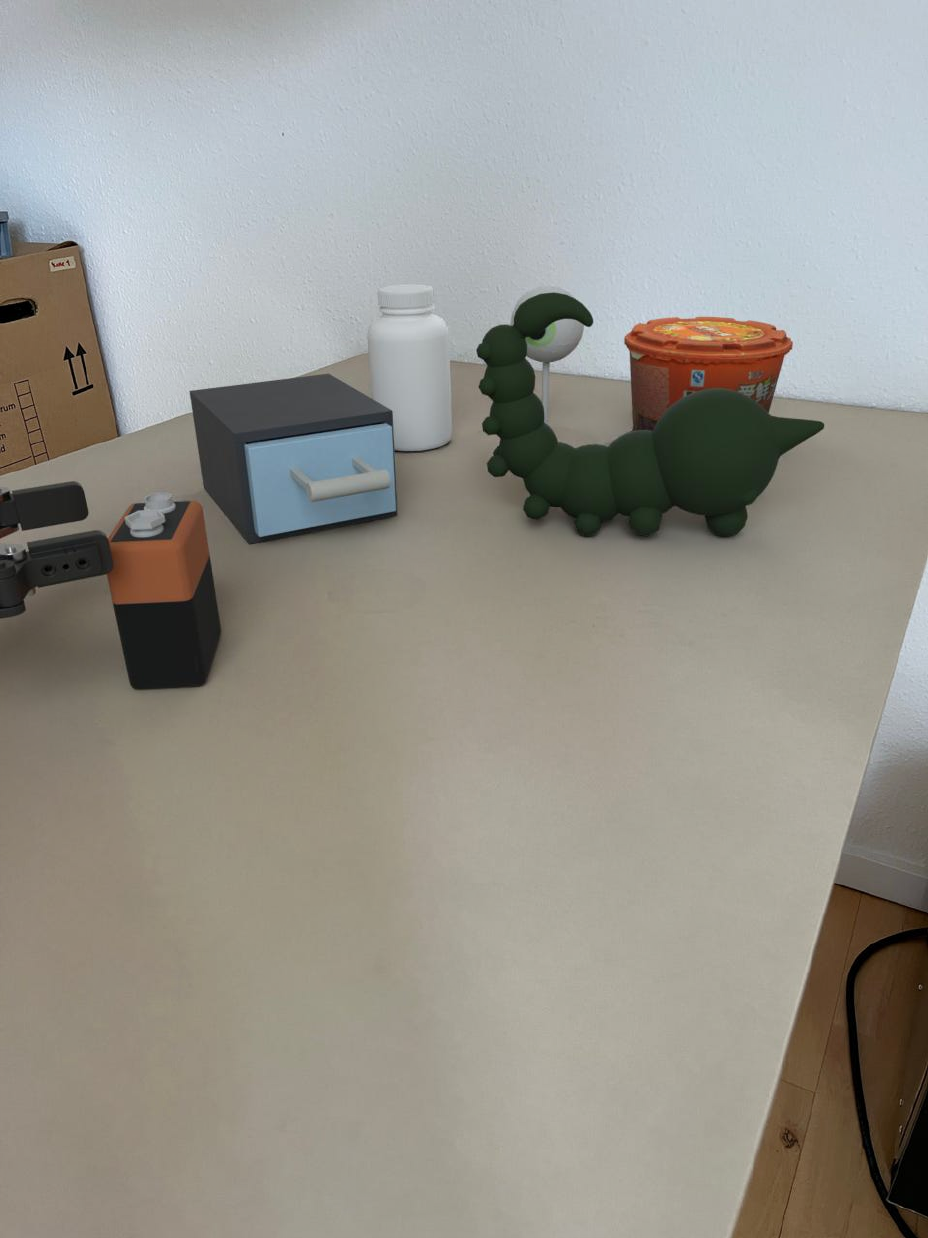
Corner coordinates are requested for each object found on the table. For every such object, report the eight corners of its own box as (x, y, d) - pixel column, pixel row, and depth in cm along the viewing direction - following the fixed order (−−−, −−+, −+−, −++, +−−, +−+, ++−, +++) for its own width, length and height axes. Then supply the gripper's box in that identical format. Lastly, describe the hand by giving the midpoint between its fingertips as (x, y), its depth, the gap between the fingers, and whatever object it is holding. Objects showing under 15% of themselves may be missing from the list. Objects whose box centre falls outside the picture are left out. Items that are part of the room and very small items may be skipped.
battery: (128, 693, 54) (94, 530, 49) (154, 636, 60) (125, 486, 55) (206, 689, 54) (179, 527, 49) (223, 633, 60) (200, 483, 55)
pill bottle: (363, 436, 98) (353, 285, 91) (435, 426, 101) (430, 279, 94) (388, 457, 91) (380, 296, 84) (464, 446, 94) (462, 290, 87)
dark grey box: (397, 515, 78) (392, 410, 74) (248, 544, 73) (234, 433, 69) (336, 466, 89) (328, 373, 85) (203, 488, 84) (189, 390, 80)
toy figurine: (486, 559, 74) (824, 555, 68) (461, 309, 65) (845, 280, 59) (506, 516, 82) (809, 509, 76) (486, 288, 73) (826, 261, 68)
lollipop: (499, 445, 94) (500, 289, 87) (521, 427, 100) (523, 278, 93) (568, 452, 92) (574, 292, 85) (586, 432, 98) (593, 281, 91)
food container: (811, 441, 94) (829, 331, 89) (700, 472, 86) (713, 353, 81) (693, 408, 106) (703, 309, 101) (585, 432, 98) (591, 326, 93)
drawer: (426, 534, 72) (423, 445, 68) (282, 564, 67) (271, 470, 64) (338, 465, 87) (332, 389, 84) (215, 485, 82) (204, 406, 79)
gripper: (-215, 598, 52) (91, 542, 59) (-250, 726, 41) (133, 638, 47) (-265, 468, 49) (66, 424, 55) (-319, 569, 37) (105, 498, 44)
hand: (97, 523), depth 51 cm, fingers open, 8 cm apart
